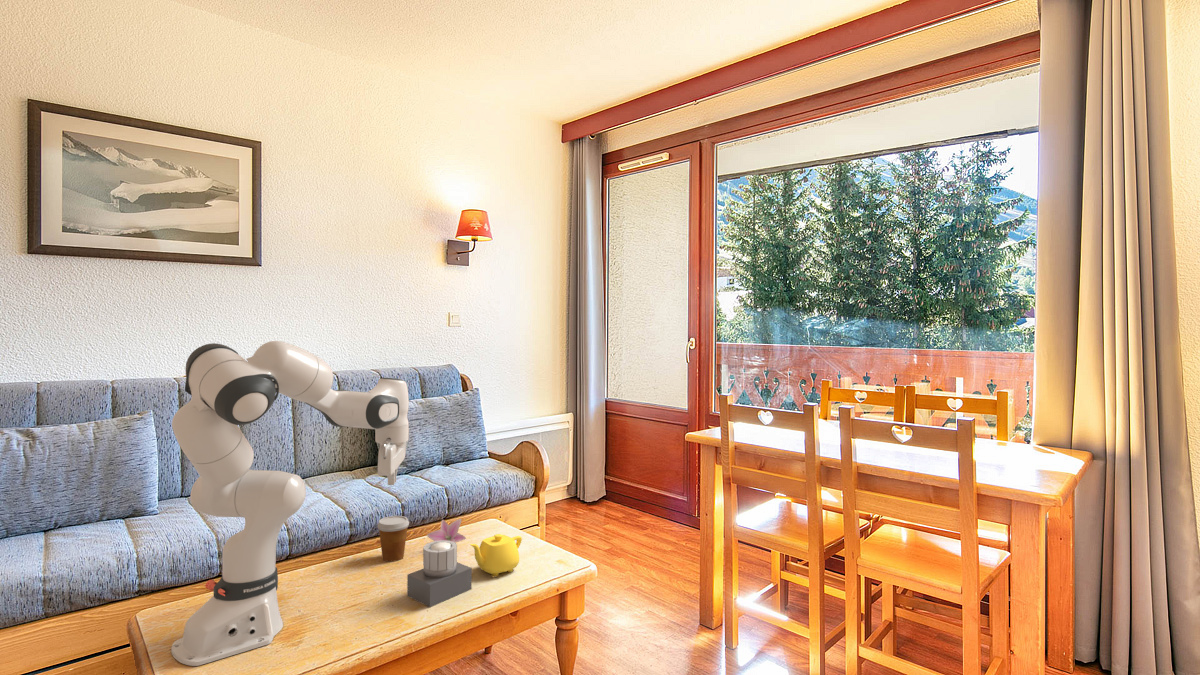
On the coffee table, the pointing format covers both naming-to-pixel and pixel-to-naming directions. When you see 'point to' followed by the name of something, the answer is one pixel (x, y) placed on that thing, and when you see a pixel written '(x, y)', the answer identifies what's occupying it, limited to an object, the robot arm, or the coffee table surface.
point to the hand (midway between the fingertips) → (391, 483)
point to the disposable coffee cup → (393, 537)
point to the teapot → (498, 554)
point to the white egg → (440, 546)
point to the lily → (447, 532)
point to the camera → (439, 576)
